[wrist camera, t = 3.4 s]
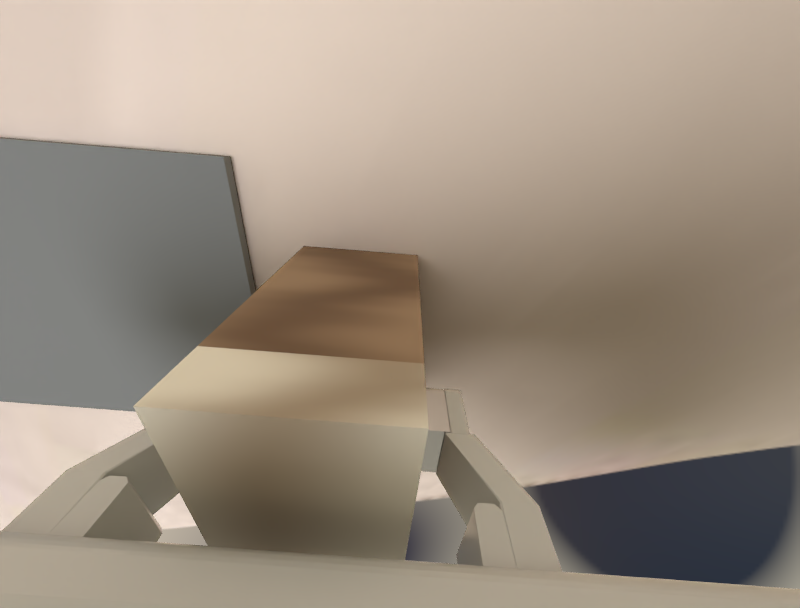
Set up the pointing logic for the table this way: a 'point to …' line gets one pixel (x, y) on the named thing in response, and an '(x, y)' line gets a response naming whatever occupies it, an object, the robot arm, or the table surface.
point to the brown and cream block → (304, 411)
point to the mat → (111, 268)
